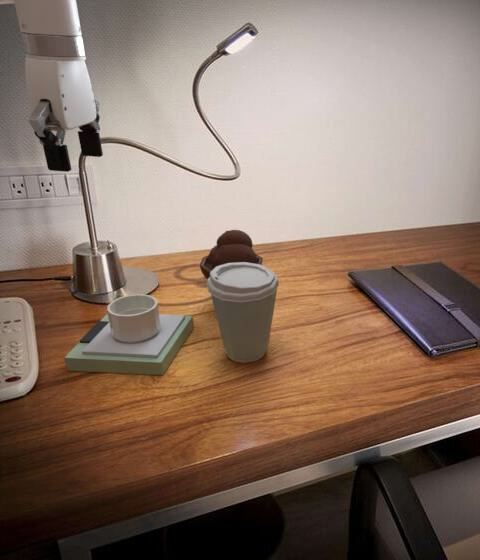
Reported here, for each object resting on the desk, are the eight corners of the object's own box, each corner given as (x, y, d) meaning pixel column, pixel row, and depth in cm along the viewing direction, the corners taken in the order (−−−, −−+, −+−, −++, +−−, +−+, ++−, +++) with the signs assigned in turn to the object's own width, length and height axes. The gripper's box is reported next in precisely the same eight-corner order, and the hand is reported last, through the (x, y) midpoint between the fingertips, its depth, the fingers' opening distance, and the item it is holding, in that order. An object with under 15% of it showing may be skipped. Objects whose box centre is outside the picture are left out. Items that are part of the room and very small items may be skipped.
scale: (67, 370, 79) (63, 354, 77) (111, 322, 91) (108, 307, 90) (163, 375, 80) (160, 359, 78) (194, 327, 92) (192, 312, 91)
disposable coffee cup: (261, 329, 93) (257, 252, 87) (293, 357, 86) (292, 276, 80) (202, 348, 87) (194, 266, 80) (232, 381, 80) (225, 294, 73)
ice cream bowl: (199, 298, 101) (192, 225, 95) (258, 290, 106) (255, 220, 100) (208, 325, 93) (201, 247, 86) (271, 315, 98) (269, 240, 91)
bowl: (104, 342, 81) (98, 314, 79) (124, 319, 87) (119, 293, 85) (150, 345, 81) (146, 317, 79) (167, 322, 87) (164, 295, 85)
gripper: (61, 43, 85) (81, 149, 92) (-13, 48, 69) (19, 175, 77) (109, 47, 85) (125, 152, 93) (46, 53, 70) (72, 179, 77)
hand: (77, 162), depth 85 cm, fingers open, 9 cm apart
